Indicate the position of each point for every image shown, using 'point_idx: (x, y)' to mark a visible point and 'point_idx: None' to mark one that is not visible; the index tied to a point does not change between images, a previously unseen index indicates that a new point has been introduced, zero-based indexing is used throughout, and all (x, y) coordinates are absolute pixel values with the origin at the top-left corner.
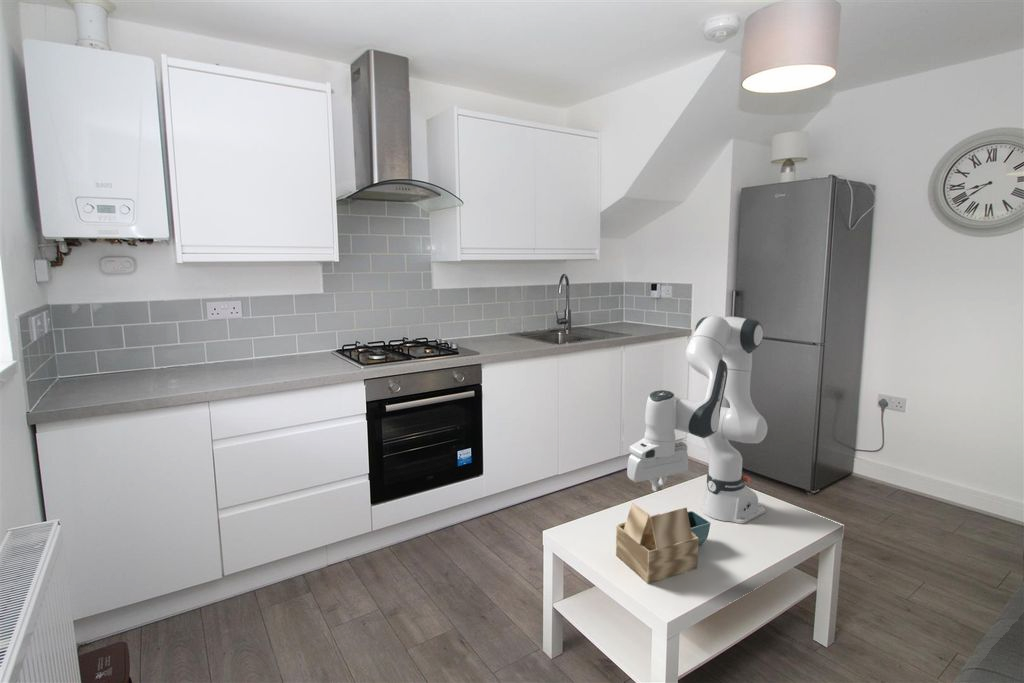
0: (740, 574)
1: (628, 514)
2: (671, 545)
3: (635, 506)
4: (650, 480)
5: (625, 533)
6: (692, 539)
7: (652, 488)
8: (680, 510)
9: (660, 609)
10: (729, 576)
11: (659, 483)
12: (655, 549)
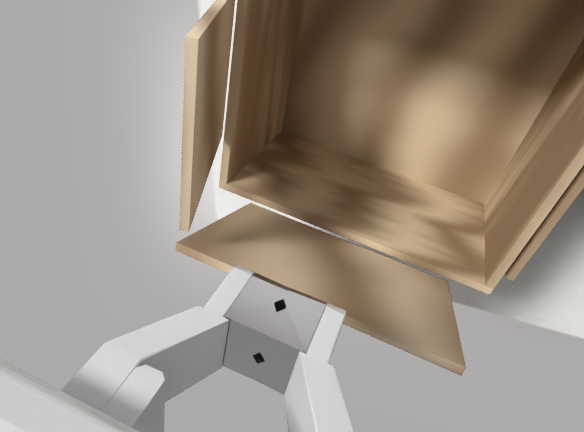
0: (556, 318)
1: (207, 10)
2: (331, 231)
3: (186, 88)
4: (123, 350)
5: (239, 2)
6: (452, 279)
7: (231, 276)
8: (402, 345)
9: (226, 210)
10: (516, 296)
11: (297, 365)
12: (253, 196)
